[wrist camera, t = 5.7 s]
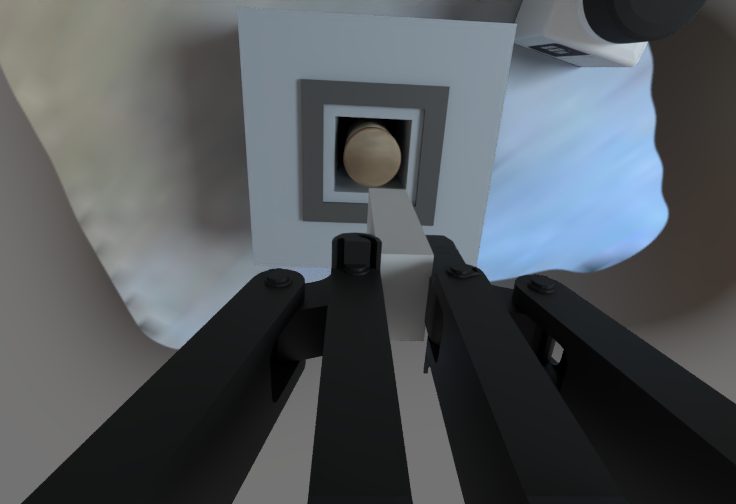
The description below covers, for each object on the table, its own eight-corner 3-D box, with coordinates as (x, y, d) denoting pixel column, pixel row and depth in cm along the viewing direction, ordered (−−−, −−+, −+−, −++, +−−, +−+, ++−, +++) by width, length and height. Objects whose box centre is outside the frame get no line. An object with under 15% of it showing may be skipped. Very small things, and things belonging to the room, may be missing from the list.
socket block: (266, 22, 36) (235, 6, 26) (475, 35, 37) (519, 23, 27) (275, 223, 43) (252, 267, 33) (449, 229, 44) (476, 274, 34)
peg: (346, 114, 37) (344, 127, 29) (392, 116, 37) (403, 130, 29) (344, 161, 39) (342, 185, 31) (389, 162, 39) (398, 188, 31)
